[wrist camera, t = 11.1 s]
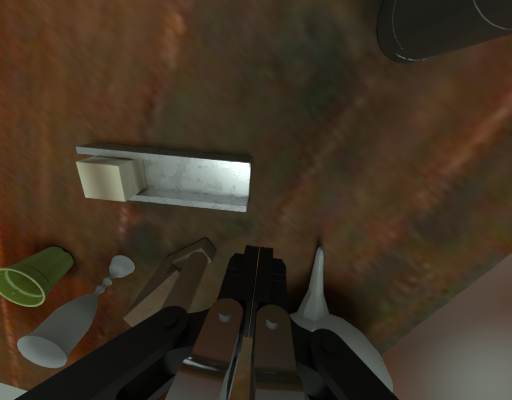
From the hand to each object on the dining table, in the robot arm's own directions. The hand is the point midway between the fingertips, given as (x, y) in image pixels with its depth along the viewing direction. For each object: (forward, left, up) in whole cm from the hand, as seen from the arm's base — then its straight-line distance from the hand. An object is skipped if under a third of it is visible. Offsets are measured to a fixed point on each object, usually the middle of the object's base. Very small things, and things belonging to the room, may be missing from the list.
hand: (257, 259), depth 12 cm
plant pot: (+26, -42, -25) cm, 56 cm away
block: (+4, -23, -24) cm, 34 cm away
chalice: (+26, -28, -25) cm, 46 cm away
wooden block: (+21, -13, -25) cm, 36 cm away
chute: (+4, -15, -25) cm, 30 cm away
